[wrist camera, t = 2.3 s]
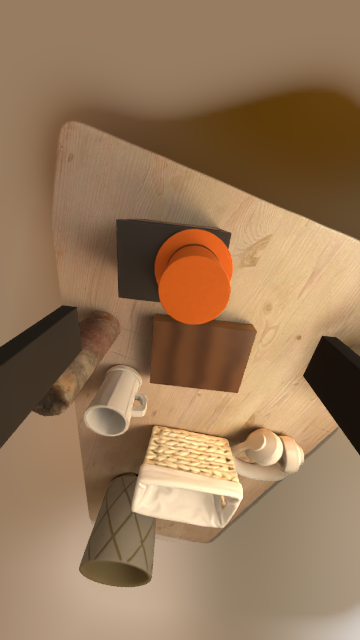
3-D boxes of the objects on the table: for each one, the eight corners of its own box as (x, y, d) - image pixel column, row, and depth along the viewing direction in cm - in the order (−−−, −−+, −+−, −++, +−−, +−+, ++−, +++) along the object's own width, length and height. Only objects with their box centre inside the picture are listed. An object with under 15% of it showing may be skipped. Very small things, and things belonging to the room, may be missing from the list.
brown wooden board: (152, 374, 49) (150, 383, 47) (155, 313, 42) (153, 319, 39) (235, 383, 49) (237, 393, 47) (252, 324, 42) (256, 331, 40)
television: (136, 277, 39) (118, 297, 29) (137, 218, 35) (116, 218, 25) (210, 286, 39) (216, 308, 29) (220, 228, 35) (231, 231, 25)
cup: (135, 356, 47) (119, 397, 36) (155, 384, 51) (145, 428, 40) (98, 371, 50) (73, 413, 39) (119, 396, 53) (101, 441, 42)
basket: (142, 454, 63) (129, 516, 50) (149, 418, 56) (136, 480, 43) (217, 467, 64) (224, 531, 51) (233, 434, 57) (246, 498, 44)
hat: (153, 301, 29) (138, 333, 21) (157, 224, 25) (140, 226, 17) (223, 309, 29) (236, 344, 21) (239, 233, 25) (263, 241, 17)
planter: (172, 488, 71) (166, 579, 53) (137, 505, 78) (121, 591, 60) (130, 463, 66) (107, 554, 48) (96, 483, 72) (64, 571, 54)
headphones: (250, 416, 53) (215, 448, 64) (256, 448, 46) (216, 478, 57) (311, 436, 55) (267, 464, 66) (326, 470, 49) (274, 494, 60)
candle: (84, 334, 45) (15, 410, 27) (86, 304, 42) (7, 368, 24) (119, 342, 46) (72, 422, 28) (123, 313, 43) (73, 382, 25)
